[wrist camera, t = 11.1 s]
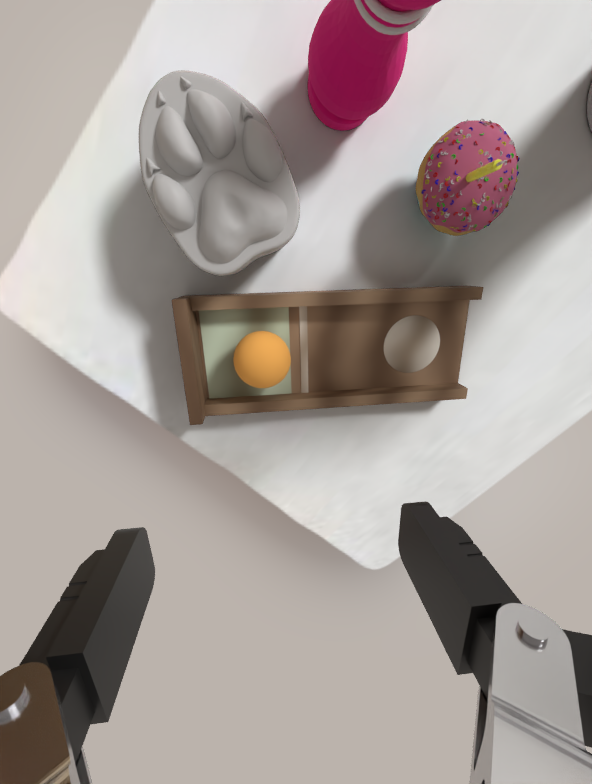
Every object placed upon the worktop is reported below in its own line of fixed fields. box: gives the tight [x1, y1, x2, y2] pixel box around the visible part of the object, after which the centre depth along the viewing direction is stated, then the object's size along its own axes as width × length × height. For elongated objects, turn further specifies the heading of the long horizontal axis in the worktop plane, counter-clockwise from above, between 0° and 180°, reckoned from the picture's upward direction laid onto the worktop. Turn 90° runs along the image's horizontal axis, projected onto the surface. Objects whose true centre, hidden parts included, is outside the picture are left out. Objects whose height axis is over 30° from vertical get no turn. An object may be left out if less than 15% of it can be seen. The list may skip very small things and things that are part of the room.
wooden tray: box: [172, 286, 483, 425], centre depth 35 cm, size 30×12×5 cm, turn 92°
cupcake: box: [416, 119, 520, 236], centre depth 28 cm, size 9×8×12 cm
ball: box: [233, 331, 291, 388], centre depth 33 cm, size 6×6×6 cm
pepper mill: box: [308, 0, 441, 131], centre depth 20 cm, size 7×7×20 cm
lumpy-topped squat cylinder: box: [139, 71, 300, 276], centre depth 28 cm, size 10×13×9 cm
